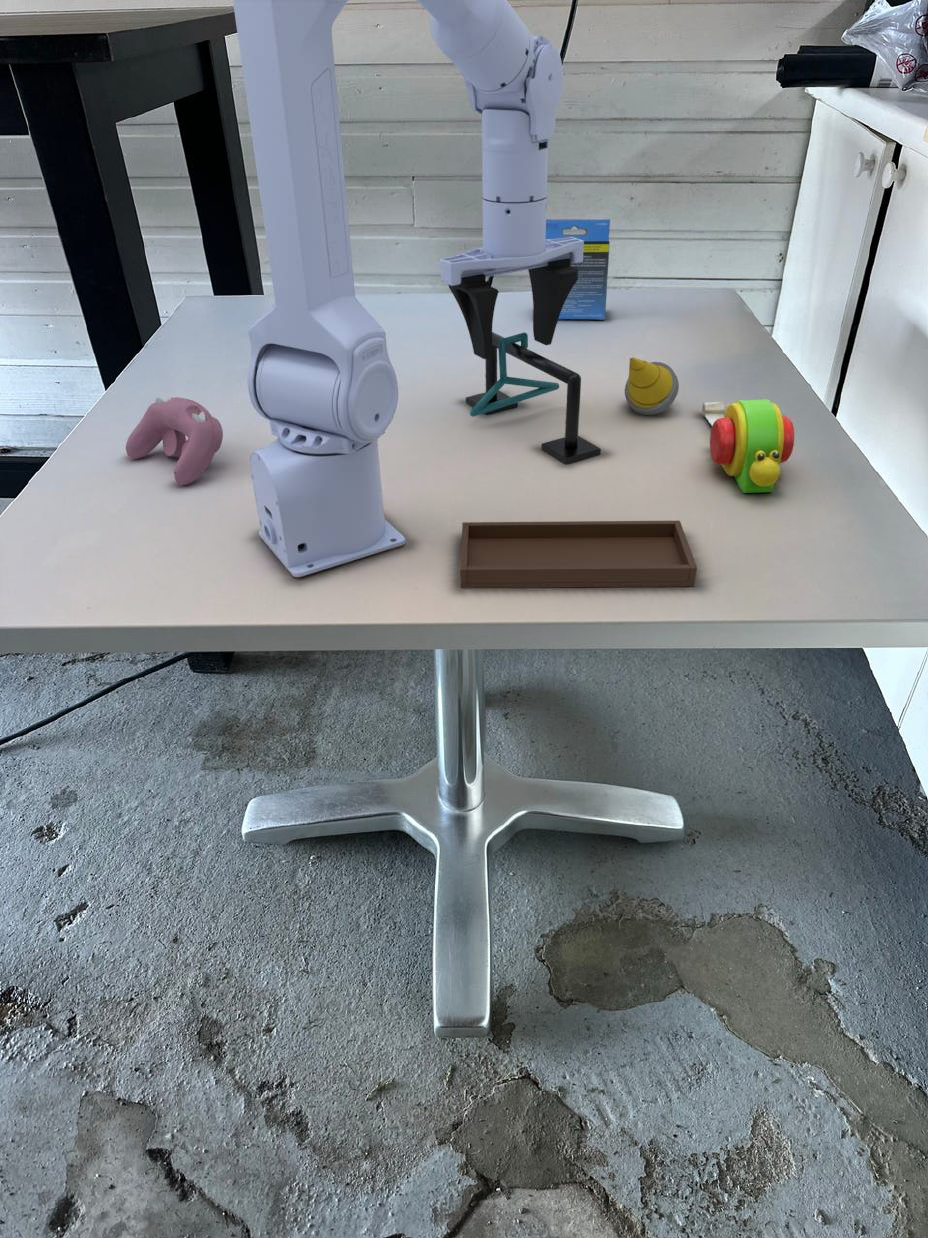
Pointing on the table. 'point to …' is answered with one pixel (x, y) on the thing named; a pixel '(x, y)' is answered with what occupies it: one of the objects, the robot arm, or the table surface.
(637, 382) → the yellow tiered cone
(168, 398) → the video game controller
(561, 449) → the rail
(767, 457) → the toy measuring tape
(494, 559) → the tray
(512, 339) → the hanger
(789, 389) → the table surface
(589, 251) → the tape cartridge
